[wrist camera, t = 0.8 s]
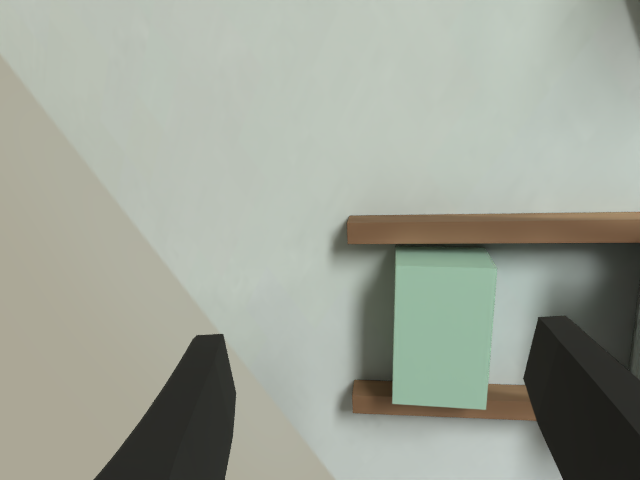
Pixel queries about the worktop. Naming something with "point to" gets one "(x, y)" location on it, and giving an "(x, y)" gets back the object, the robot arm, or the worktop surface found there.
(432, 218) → the guide bay
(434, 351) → the sage block
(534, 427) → the worktop surface
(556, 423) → the robot arm
